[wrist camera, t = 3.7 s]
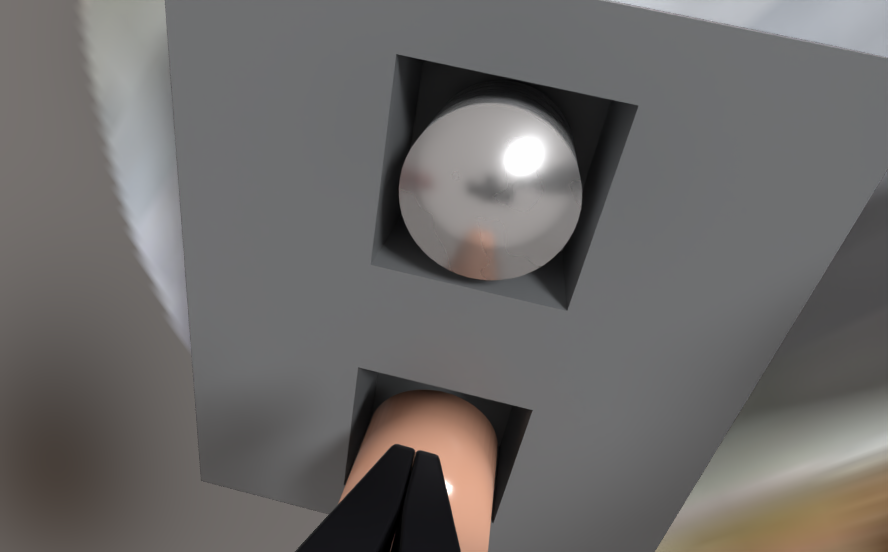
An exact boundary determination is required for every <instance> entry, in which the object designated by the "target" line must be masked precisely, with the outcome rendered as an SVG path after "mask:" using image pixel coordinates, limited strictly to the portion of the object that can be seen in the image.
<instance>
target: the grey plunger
mask: <svg viewBox="0 0 888 552" xmlns="http://www.w3.org/2000/svg"><path fill="white" fill-rule="evenodd" d="M399 203H400V208H401V213H402V216H403V219H404V222H405V224H406V226H407V228H408V231H409V233H410V234H411V236H412V237H413V239H414V240H415V242H416V243H417V245H418V246H419V247H420V248H421V249H422V250H423V252H425V253H426V254H427V255H428V256H429V257H430V258H431V259H432V260H434V261H435V262H436V263H438V264H439V265H441V266H443V267H444V268H446V269H448V270H450V271H452V272H454V273H457V274H459V275H462V276H466V277H469V278H474V279H480V280H504V279H510V278H515V277H518V276H522V275H525V274H527V273H530V272H532V271H534V270H536V269H538V268H539V267H541V266H543V265H545V264H546V263H547V262H548V261H550V260H551V259H552V258H554V257H555V256H556V255H557V254H558V253H559V252H560V251H561V250H562V248H563V247H564V246H565V244H566V243H567V242H568V240H569V239H570V237H571V235H572V233H573V232H574V229H575V227H576V224H577V222H578V219H579V215H580V211H581V204H582V185H581V179H580V173H579V168H578V163H577V158H576V153H575V148H574V143H573V138H572V133H571V130H570V127H569V125H568V123H567V121H566V119H565V116H564V115H563V114H562V112H561V111H560V109H559V108H558V107H557V106H556V104H555V103H554V102H553V101H552V100H551V99H550V98H548V97H547V96H546V95H545V94H543V93H542V92H540V91H538V90H537V89H535V88H533V87H531V86H528V85H526V84H523V83H519V82H515V81H508V80H493V81H486V82H482V83H479V84H475V85H473V86H471V87H468V88H466V89H464V90H463V91H461V92H459V93H458V94H457V95H455V96H454V97H453V98H452V99H450V100H449V101H448V102H447V103H446V104H445V106H444V107H443V108H442V109H441V110H440V112H439V113H438V114H437V115H436V117H435V118H434V119H433V120H432V122H431V123H430V124H429V125H428V127H427V128H426V129H425V130H424V132H423V133H422V134H421V135H420V137H419V138H418V139H417V141H416V142H415V143H414V145H413V146H412V148H411V149H410V151H409V153H408V155H407V157H406V159H405V162H404V165H403V167H402V171H401V176H400V181H399Z"/></svg>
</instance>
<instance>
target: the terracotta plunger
mask: <svg viewBox="0 0 888 552" xmlns="http://www.w3.org/2000/svg"><path fill="white" fill-rule="evenodd" d="M394 444H400V445H403V446H407V447H411V448H413V449H414V450H415V454H416V452H417V451H418V450H422V451H426V452H430V453H433V454H436V455H438V456H439V458H440V462H441V466H442V471H443V475H444V479H445V484H446V488H447V492H448V497H449V501H450V506H451V510H452V514H453V519H454V523H455V527H456V532H457V536H458V540H459V545H460V549H461V552H488V545H489V535H490V524H491V514H492V503H493V493H494V482H495V472H496V462H497V451H498V442H497V436H496V433H495V430H494V428H493V426H492V424H491V423H490V422H489V420H488V419H487V417H486V416H485V415H484V414H483V413H482V412H481V411H480V410H479V409H477V408H476V407H475V406H473V405H472V404H471V403H469V402H467V401H465V400H464V399H462V398H460V397H457V396H455V395H452V394H449V393H446V392H441V391H436V390H411V391H406V392H402V393H399V394H396V395H394V396H392V397H390V398H388V399H387V400H386V401H384V402H383V403H382V404H381V405H380V406H379V407H378V408H377V409H376V411H375V412H374V414H373V416H372V419H371V421H370V424H369V426H368V429H367V431H366V434H365V437H364V439H363V442H362V444H361V447H360V449H359V452H358V454H357V457H356V460H355V462H354V465H353V467H352V470H351V472H350V475H349V477H348V480H347V483H346V485H345V488H344V490H343V493H342V495H341V498H340V500H339V503H340V502H341V501H342V500H343V499H344V497H345V496H346V495H347V494H348V493H349V492H350V491H351V490H352V489H353V488H354V486H355V485H356V484H357V483H358V482H359V481H360V480H361V479H362V478H363V477H364V476H365V474H366V473H367V472H368V471H369V470H370V469H371V468H372V467H373V466H374V465H375V463H376V462H377V461H378V460H379V459H380V458H381V457H382V456H383V455H384V454H385V453H386V451H387V450H388V449H389V448H390V447H391V446H392V445H394ZM414 457H415V456H414ZM413 461H414V460H413ZM339 503H338V504H339Z"/></svg>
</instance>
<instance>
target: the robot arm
mask: <svg viewBox="0 0 888 552" xmlns="http://www.w3.org/2000/svg"><path fill="white" fill-rule="evenodd" d="M414 456H415V457H414ZM413 460H414V461H413ZM295 552H461V549H460V545H459V540H458V536H457V532H456V527H455V523H454V519H453V514H452V510H451V506H450V501H449V497H448V492H447V488H446V484H445V479H444V475H443V471H442V466H441V462H440V458H439V456H438V455H436V454H433V453H430V452H426V451H422V450H418V451H417V452H416V454H415V450H414V449H413V448H411V447H407V446H403V445H400V444H394V445H392V446H391V447H390V448H389V449H388V450H387V451H386V453H385V454H384V455H383V456H382V457H381V458H380V459H379V460H378V461H377V462H376V463H375V465H374V466H373V467H372V468H371V469H370V470H369V471H368V472H367V473H366V474H365V476H364V477H363V478H362V479H361V480H360V481H359V482H358V483H357V484H356V485H355V486H354V488H353V489H352V490H351V491H350V492H349V493H348V494H347V495H346V496H345V497H344V499H343V500H342V501H341V502H340V503H339V504H338V505H337V506H336V507H335V508H334V509H333V511H332V512H331V513H330V514H329V515H328V516H327V517H326V518H325V519H324V520H323V522H322V523H321V524H320V525H319V526H318V527H317V528H316V529H315V530H314V531H313V533H312V534H311V535H310V536H309V537H308V538H307V539H306V540H305V541H304V542H303V543H302V544H301V546H300V547H299V548H298V549H297V550H296V551H295Z"/></svg>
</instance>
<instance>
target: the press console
mask: <svg viewBox="0 0 888 552" xmlns="http://www.w3.org/2000/svg"><path fill="white" fill-rule="evenodd" d="M165 9H166V23H167V36H168V49H169V62H170V76H171V89H172V102H173V115H174V129H175V142H176V155H177V168H178V182H179V195H180V208H181V221H182V235H183V248H184V261H185V274H186V287H187V301H188V314H189V327H190V340H191V354H192V367H193V380H194V393H195V406H196V420H197V433H198V445H199V459H200V472H201V481H204V482H208V483H212V484H215V485H219V486H223V487H227V488H230V489H235V490H238V491H242V492H246V493H250V494H253V495H258V496H261V497H265V498H269V499H273V500H276V501H280V502H284V503H288V504H292V505H296V506H300V507H303V508H307V509H311V510H315V511H319V512H323V513H326V514H330V513H331V512H332V511H333V509H334V508H335V507H336V506H337V505H338V503H339V500H340V498H341V495H342V493H343V490H344V488H345V485H346V483H347V480H348V477H349V475H350V472H351V470H352V467H353V465H354V462H355V460H356V457H357V454H358V452H359V449H360V447H361V444H362V442H363V439H364V437H365V434H366V431H367V429H368V426H369V424H370V421H371V419H372V416H373V414H374V412H375V411H376V409H377V408H378V407H379V406H380V405H381V404H382V403H383V402H384V401H386V400H387V399H388V398H390V397H392V396H394V395H396V394H399V393H402V392H406V391H411V390H436V391H441V392H446V393H449V394H452V395H455V396H457V397H460V398H462V399H464V400H465V401H467V402H469V403H471V404H472V405H473V406H475V407H476V408H477V409H479V410H480V411H481V412H482V413H483V414H484V415H485V416H486V417H487V419H488V420H489V422H490V423H491V424H492V426H493V428H494V430H495V433H496V436H497V442H498V451H497V462H496V472H495V482H494V493H493V503H492V514H491V524H490V535H489V545H488V552H655V550H656V549H657V547H658V545H659V544H660V542H661V540H662V539H663V537H664V536H665V534H666V532H667V531H668V529H669V527H670V526H671V524H672V522H673V521H674V519H675V518H676V516H677V514H678V513H679V511H680V509H681V508H682V506H683V504H684V503H685V501H686V499H687V498H688V496H689V495H690V493H691V491H692V490H693V488H694V486H695V485H696V483H697V481H698V480H699V478H700V476H701V475H702V473H703V472H704V470H705V468H706V467H707V465H708V463H709V462H710V460H711V458H712V457H713V455H714V454H715V452H716V450H717V449H718V447H719V445H720V444H721V442H722V440H723V439H724V437H725V435H726V434H727V432H728V431H729V429H730V427H731V426H732V424H733V422H734V421H735V419H736V417H737V416H738V414H739V412H740V411H741V409H742V408H743V406H744V404H745V403H746V401H747V399H748V398H749V396H750V394H751V393H752V391H753V390H754V388H755V386H756V385H757V383H758V381H759V380H760V378H761V376H762V375H763V373H764V371H765V370H766V368H767V367H768V365H769V363H770V362H771V360H772V358H773V357H774V355H775V353H776V352H777V350H778V348H779V347H780V345H781V344H782V342H783V340H784V339H785V337H786V335H787V334H788V332H789V330H790V329H791V327H792V326H793V324H794V322H795V321H796V319H797V317H798V316H799V314H800V312H801V311H802V309H803V307H804V306H805V304H806V303H807V301H808V299H809V298H810V296H811V294H812V293H813V291H814V289H815V288H816V286H817V284H818V283H819V281H820V280H821V278H822V276H823V275H824V273H825V271H826V270H827V268H828V266H829V265H830V263H831V262H832V260H833V258H834V257H835V255H836V253H837V252H838V250H839V248H840V247H841V245H842V243H843V242H844V240H845V239H846V237H847V235H848V234H849V232H850V230H851V229H852V227H853V225H854V224H855V222H856V221H857V219H858V217H859V216H860V214H861V212H862V211H863V209H864V207H865V206H866V204H867V202H868V201H869V199H870V198H871V196H872V194H873V193H874V191H875V189H876V188H877V186H878V184H879V183H880V181H881V179H882V178H883V176H884V175H885V173H886V171H887V170H888V58H887V57H883V56H878V55H874V54H869V53H864V52H860V51H855V50H851V49H846V48H841V47H837V46H832V45H827V44H822V43H817V42H812V41H807V40H802V39H797V38H792V37H787V36H782V35H778V34H773V33H768V32H763V31H758V30H753V29H748V28H743V27H738V26H733V25H728V24H723V23H718V22H713V21H708V20H704V19H699V18H694V17H689V16H684V15H679V14H674V13H669V12H664V11H659V10H654V9H649V8H644V7H639V6H634V5H630V4H625V3H620V2H615V1H610V0H165ZM493 80H508V81H515V82H519V83H523V84H526V85H528V86H531V87H533V88H535V89H537V90H538V91H540V92H542V93H543V94H545V95H546V96H547V97H548V98H550V99H551V100H552V101H553V102H554V103H555V104H556V106H557V107H558V108H559V109H560V111H561V112H562V114H563V115H564V116H565V119H566V121H567V123H568V125H569V127H570V130H571V133H572V138H573V143H574V148H575V153H576V158H577V163H578V168H579V173H580V179H581V185H582V204H581V211H580V215H579V219H578V222H577V224H576V227H575V229H574V232H573V233H572V235H571V237H570V239H569V240H568V242H567V243H566V244H565V246H564V247H563V248H562V250H561V251H560V252H559V253H558V254H557V255H556V256H555V257H554V258H552V259H551V260H550V261H548V262H547V263H546V264H545V265H543V266H541V267H539V268H538V269H536V270H534V271H532V272H530V273H527V274H525V275H522V276H518V277H515V278H510V279H504V280H480V279H474V278H469V277H466V276H462V275H459V274H457V273H454V272H452V271H450V270H448V269H446V268H444V267H443V266H441V265H439V264H438V263H436V262H435V261H434V260H432V259H431V258H430V257H429V256H428V255H427V254H426V253H425V252H423V250H422V249H421V248H420V247H419V246H418V245H417V243H416V242H415V240H414V239H413V237H412V236H411V234H410V233H409V231H408V228H407V226H406V224H405V222H404V219H403V216H402V213H401V208H400V203H399V181H400V176H401V171H402V167H403V165H404V162H405V159H406V157H407V155H408V153H409V151H410V149H411V148H412V146H413V145H414V143H415V142H416V141H417V139H418V138H419V137H420V135H421V134H422V133H423V132H424V130H425V129H426V128H427V127H428V125H429V124H430V123H431V122H432V120H433V119H434V118H435V117H436V115H437V114H438V113H439V112H440V110H441V109H442V108H443V107H444V106H445V104H446V103H447V102H448V101H449V100H450V99H452V98H453V97H454V96H455V95H457V94H458V93H459V92H461V91H463V90H464V89H466V88H468V87H471V86H473V85H475V84H479V83H482V82H486V81H493Z"/></svg>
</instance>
